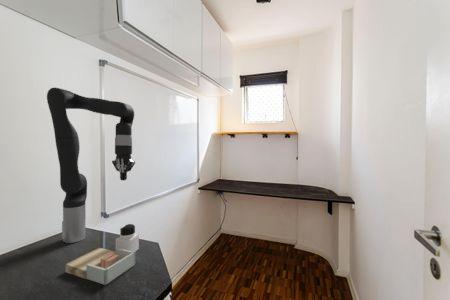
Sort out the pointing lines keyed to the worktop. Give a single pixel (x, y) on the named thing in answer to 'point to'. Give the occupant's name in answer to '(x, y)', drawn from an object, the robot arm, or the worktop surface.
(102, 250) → the wooden slab
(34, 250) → the worktop surface
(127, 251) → the box
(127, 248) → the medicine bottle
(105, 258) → the tile
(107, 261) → the tile
